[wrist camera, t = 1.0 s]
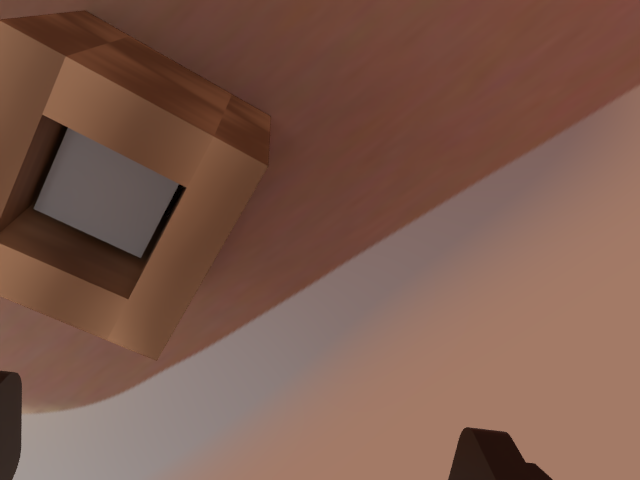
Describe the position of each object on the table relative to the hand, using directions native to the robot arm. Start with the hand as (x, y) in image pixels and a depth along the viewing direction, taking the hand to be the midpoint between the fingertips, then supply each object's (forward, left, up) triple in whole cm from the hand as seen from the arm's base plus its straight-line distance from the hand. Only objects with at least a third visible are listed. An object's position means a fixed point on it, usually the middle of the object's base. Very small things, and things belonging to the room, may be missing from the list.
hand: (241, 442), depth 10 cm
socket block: (-5, -4, -21) cm, 22 cm away
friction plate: (-5, -4, -16) cm, 17 cm away
